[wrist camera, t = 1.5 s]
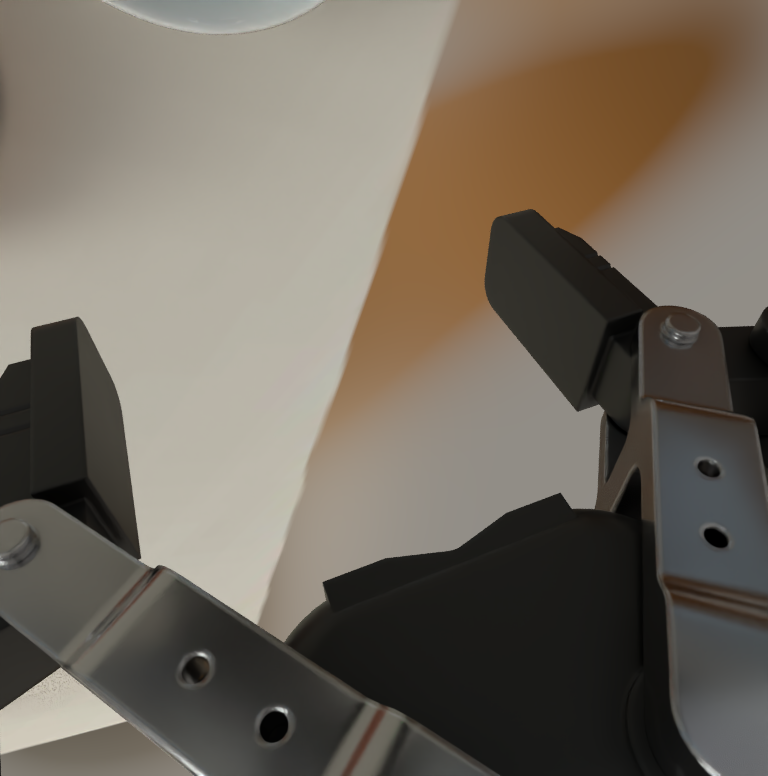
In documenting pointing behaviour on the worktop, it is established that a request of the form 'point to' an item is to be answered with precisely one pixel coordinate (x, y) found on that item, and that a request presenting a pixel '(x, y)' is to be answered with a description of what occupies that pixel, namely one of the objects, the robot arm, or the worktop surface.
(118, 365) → the worktop surface
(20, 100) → the worktop surface
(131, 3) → the cereal bowl
